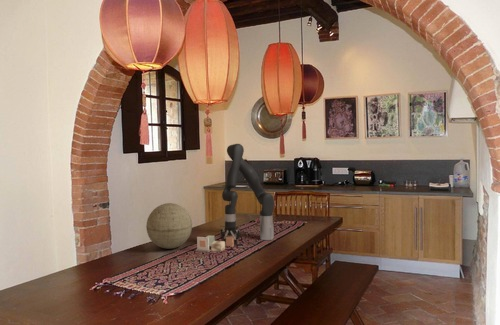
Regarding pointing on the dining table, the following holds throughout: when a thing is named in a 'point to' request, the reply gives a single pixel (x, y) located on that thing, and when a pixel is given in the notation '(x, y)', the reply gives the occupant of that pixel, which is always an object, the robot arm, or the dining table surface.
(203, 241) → the board
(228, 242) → the terracotta block
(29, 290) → the dining table surface
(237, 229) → the helicopter
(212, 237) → the sage block
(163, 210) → the celestial globe
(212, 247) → the beech base block
